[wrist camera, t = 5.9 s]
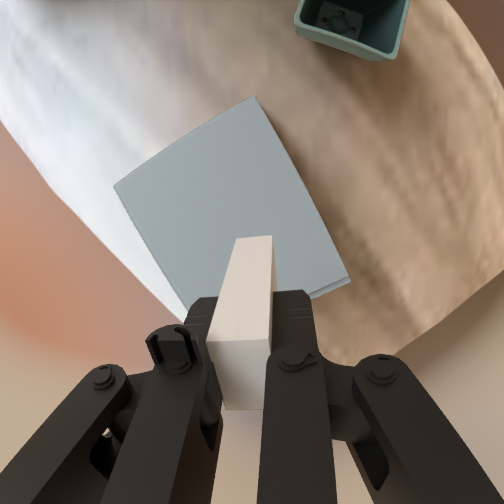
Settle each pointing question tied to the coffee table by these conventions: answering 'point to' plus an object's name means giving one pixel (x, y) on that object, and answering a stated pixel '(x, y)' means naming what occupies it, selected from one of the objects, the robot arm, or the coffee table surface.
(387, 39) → the flower pot
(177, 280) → the lid
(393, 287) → the coffee table surface
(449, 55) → the coffee table surface
